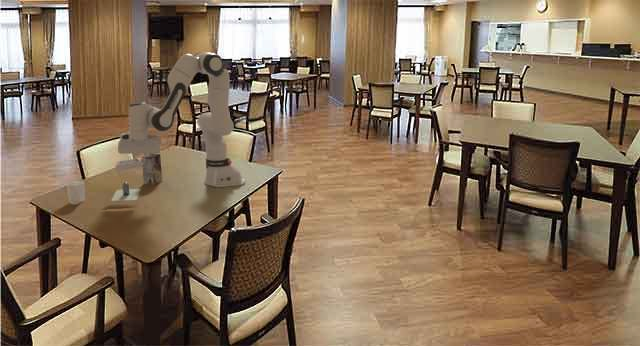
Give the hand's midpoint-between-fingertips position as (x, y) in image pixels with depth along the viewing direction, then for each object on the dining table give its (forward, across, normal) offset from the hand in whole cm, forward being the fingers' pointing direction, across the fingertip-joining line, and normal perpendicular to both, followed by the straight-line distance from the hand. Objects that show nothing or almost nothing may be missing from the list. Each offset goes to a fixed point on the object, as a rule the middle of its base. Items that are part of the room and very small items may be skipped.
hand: (140, 161), depth 255 cm
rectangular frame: (+3, +5, 0) cm, 5 cm away
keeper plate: (+18, +8, -1) cm, 20 cm away
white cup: (+19, +30, +5) cm, 36 cm away
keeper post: (+17, +8, -1) cm, 19 cm away
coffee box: (+18, -4, -22) cm, 28 cm away
